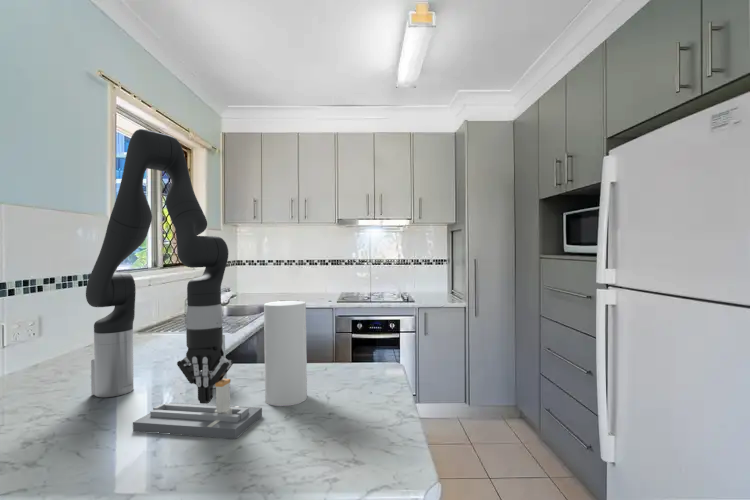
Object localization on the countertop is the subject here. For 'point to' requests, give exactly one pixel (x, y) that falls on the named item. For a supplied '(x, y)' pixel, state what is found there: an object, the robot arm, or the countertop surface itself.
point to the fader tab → (223, 397)
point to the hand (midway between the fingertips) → (205, 402)
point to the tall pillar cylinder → (285, 352)
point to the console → (198, 420)
